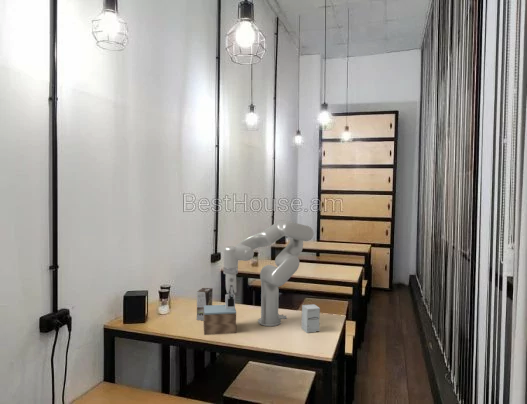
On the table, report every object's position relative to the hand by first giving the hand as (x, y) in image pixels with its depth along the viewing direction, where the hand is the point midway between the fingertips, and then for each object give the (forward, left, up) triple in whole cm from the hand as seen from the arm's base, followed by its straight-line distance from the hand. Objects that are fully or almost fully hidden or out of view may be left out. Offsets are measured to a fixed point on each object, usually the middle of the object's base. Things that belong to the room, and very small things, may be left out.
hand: (230, 303), depth 192 cm
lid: (+6, 0, -3) cm, 6 cm away
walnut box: (+5, 0, -13) cm, 14 cm away
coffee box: (+12, -19, -14) cm, 26 cm away
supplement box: (-42, +8, -14) cm, 44 cm away
